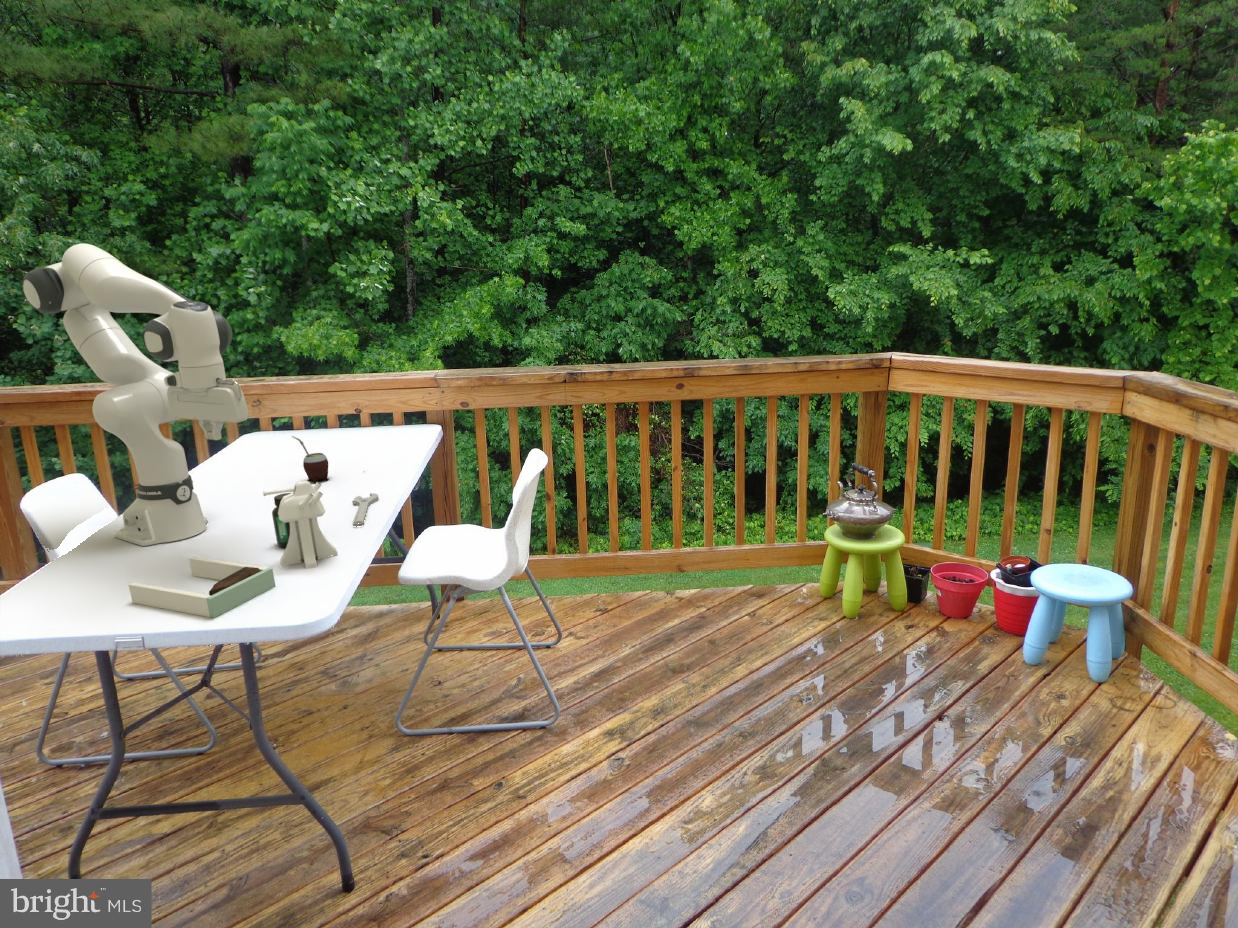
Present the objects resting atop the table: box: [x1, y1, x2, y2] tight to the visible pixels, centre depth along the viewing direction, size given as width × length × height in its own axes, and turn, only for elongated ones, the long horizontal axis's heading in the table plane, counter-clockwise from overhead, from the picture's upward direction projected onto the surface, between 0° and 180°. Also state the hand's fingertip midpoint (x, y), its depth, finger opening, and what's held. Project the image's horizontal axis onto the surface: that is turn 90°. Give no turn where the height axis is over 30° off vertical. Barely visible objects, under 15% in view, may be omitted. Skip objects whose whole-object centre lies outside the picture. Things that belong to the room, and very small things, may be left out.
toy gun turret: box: [262, 480, 339, 569], centre depth 194 cm, size 12×13×18 cm
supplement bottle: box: [271, 492, 292, 549], centre depth 205 cm, size 7×7×12 cm
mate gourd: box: [291, 435, 329, 485], centre depth 256 cm, size 8×8×15 cm
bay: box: [128, 556, 276, 619], centre depth 179 cm, size 23×16×4 cm
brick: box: [208, 567, 260, 596], centre depth 177 cm, size 11×4×5 cm, turn 161°
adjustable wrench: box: [352, 492, 380, 527], centre depth 227 cm, size 25×6×2 cm, turn 6°
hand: (213, 439), depth 191 cm, fingers closed
